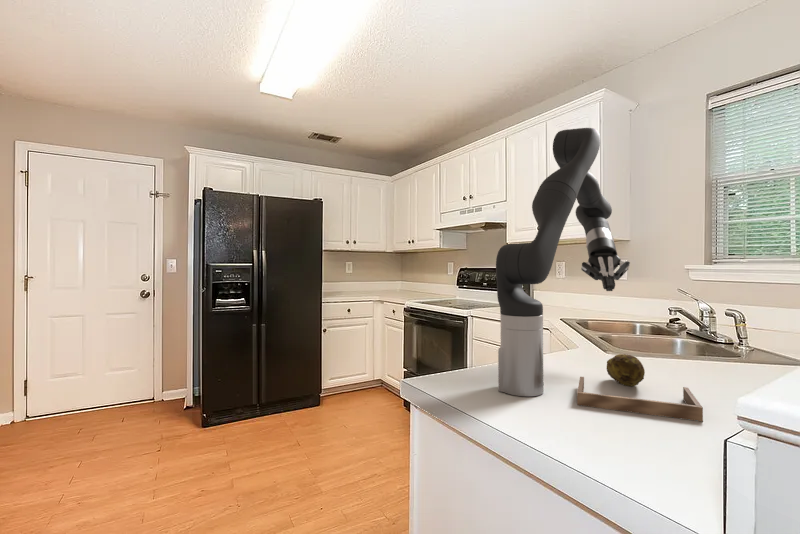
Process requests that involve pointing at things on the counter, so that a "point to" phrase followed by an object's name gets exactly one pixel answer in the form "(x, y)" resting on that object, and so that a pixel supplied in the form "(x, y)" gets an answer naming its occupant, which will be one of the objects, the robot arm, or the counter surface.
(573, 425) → the counter surface
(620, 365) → the potato
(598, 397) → the tray
